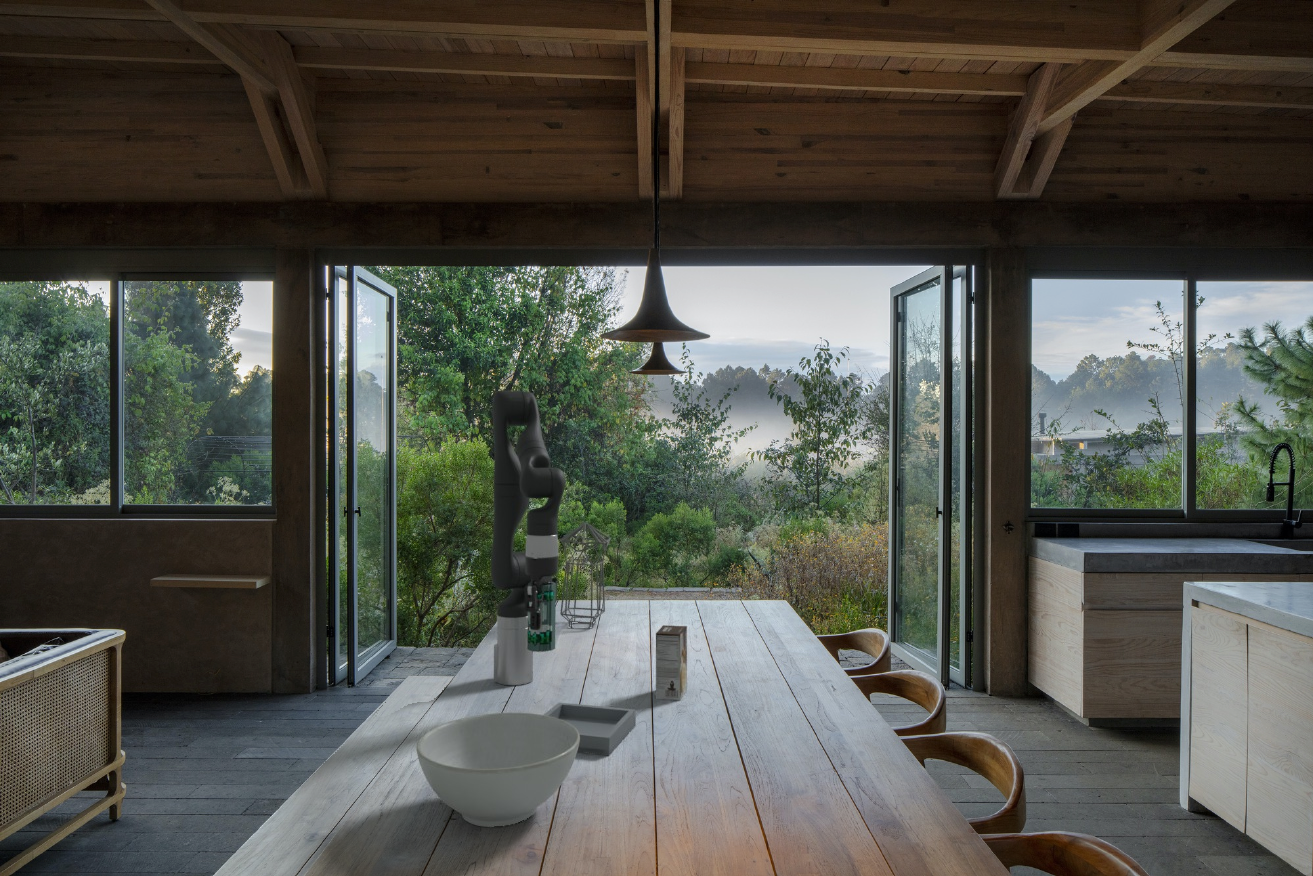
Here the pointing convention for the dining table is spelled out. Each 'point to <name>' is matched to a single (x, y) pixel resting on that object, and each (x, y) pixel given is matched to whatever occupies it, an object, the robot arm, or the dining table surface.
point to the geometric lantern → (567, 540)
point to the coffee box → (671, 662)
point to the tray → (596, 725)
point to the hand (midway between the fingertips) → (541, 626)
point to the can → (544, 622)
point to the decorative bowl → (498, 764)
